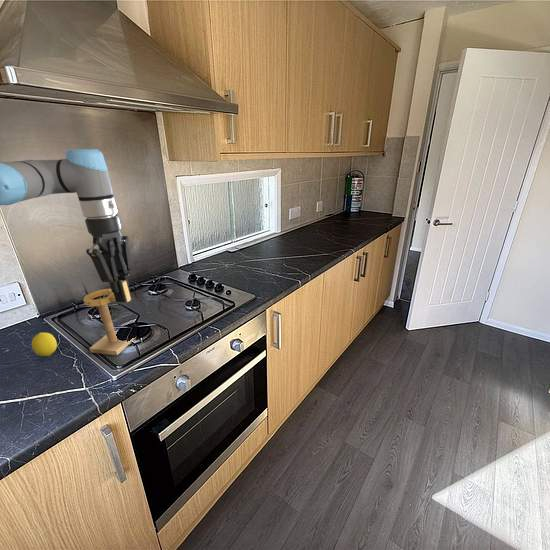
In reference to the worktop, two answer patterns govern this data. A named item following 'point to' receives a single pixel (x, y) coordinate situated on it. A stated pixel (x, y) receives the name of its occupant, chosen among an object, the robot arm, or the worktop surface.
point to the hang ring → (108, 299)
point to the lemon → (44, 344)
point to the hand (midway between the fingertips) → (123, 299)
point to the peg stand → (108, 336)
